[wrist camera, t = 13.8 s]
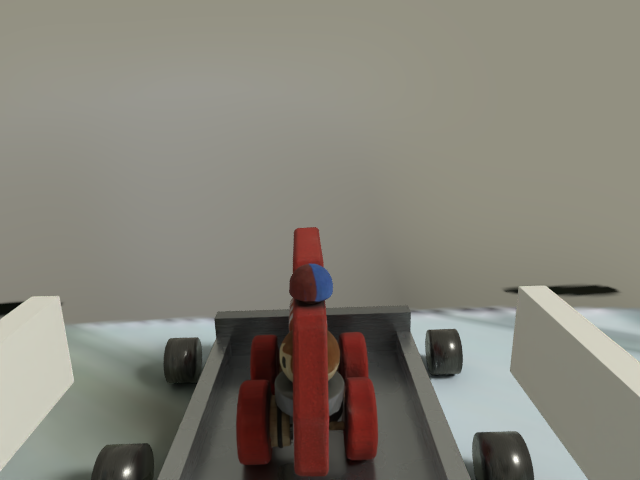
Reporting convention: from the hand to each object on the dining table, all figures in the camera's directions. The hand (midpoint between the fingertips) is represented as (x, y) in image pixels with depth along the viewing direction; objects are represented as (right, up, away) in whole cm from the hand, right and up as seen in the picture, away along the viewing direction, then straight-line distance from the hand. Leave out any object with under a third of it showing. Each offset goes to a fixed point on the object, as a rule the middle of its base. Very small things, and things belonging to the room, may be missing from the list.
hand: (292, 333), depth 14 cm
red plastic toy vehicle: (0, -8, +14) cm, 16 cm away
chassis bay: (0, -8, +14) cm, 16 cm away
